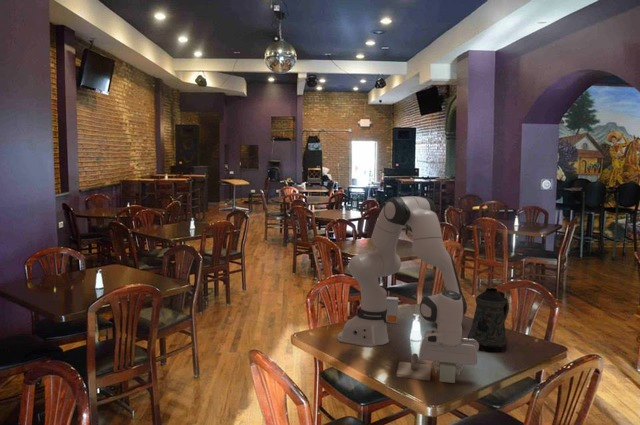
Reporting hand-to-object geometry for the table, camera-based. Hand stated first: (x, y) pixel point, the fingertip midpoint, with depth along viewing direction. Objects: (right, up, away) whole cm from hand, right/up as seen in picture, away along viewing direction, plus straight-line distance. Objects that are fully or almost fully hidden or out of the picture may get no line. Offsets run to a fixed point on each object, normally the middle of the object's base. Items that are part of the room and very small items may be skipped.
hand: (447, 373), depth 191 cm
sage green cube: (0, -2, 0) cm, 2 cm away
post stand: (-11, -1, +6) cm, 13 cm away
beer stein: (+27, +1, +38) cm, 46 cm away
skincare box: (-11, +4, +68) cm, 70 cm away
